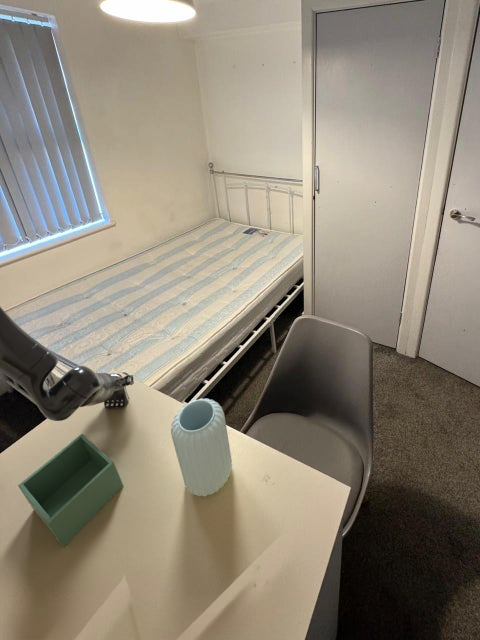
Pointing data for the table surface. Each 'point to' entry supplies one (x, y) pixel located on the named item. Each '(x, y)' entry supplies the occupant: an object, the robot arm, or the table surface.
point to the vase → (202, 446)
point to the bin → (72, 488)
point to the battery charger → (117, 397)
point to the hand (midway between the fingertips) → (111, 386)
